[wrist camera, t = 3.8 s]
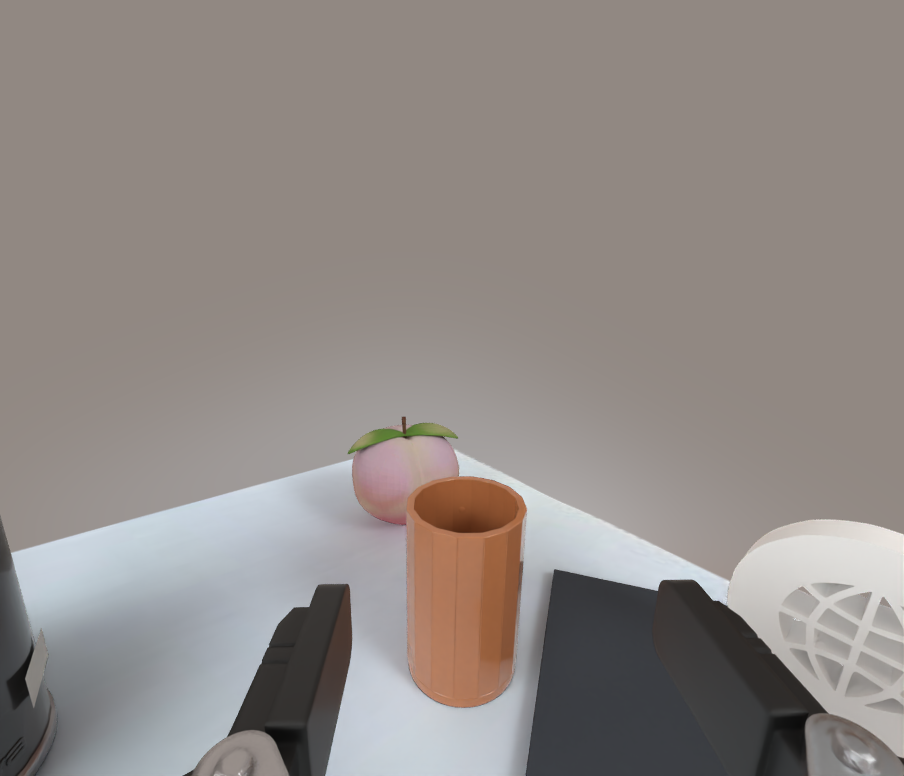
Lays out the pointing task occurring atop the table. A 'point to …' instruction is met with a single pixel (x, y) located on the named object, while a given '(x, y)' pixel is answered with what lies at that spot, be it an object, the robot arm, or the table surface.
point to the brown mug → (464, 588)
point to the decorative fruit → (400, 466)
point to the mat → (610, 690)
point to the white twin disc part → (832, 616)
